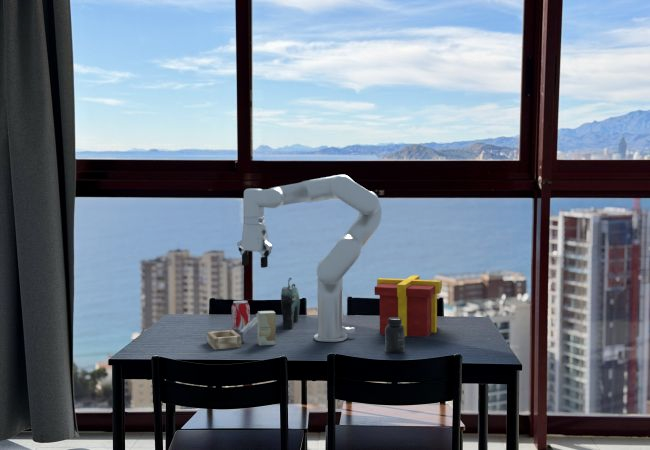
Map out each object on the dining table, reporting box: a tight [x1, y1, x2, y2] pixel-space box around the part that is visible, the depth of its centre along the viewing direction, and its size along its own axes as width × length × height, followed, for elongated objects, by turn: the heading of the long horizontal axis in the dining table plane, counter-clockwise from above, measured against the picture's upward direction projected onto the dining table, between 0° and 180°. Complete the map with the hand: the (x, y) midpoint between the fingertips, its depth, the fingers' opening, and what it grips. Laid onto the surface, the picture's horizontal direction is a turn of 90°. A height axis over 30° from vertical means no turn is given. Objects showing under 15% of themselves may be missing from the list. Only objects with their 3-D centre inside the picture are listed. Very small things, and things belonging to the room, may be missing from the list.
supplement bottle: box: [384, 317, 406, 355], centre depth 306 cm, size 7×7×12 cm
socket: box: [206, 329, 242, 351], centre depth 319 cm, size 10×12×4 cm
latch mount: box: [234, 329, 245, 344], centre depth 325 cm, size 3×6×4 cm, turn 20°
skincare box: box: [256, 310, 277, 346], centre depth 319 cm, size 6×4×12 cm
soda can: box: [231, 299, 251, 331], centre depth 343 cm, size 7×7×12 cm
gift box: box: [374, 274, 443, 338], centre depth 340 cm, size 25×25×20 cm
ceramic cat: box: [280, 277, 301, 330], centre depth 353 cm, size 20×6×20 cm, turn 171°
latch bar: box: [240, 312, 258, 336], centre depth 326 cm, size 11×4×2 cm
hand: (254, 266), depth 326 cm, fingers open, 9 cm apart
